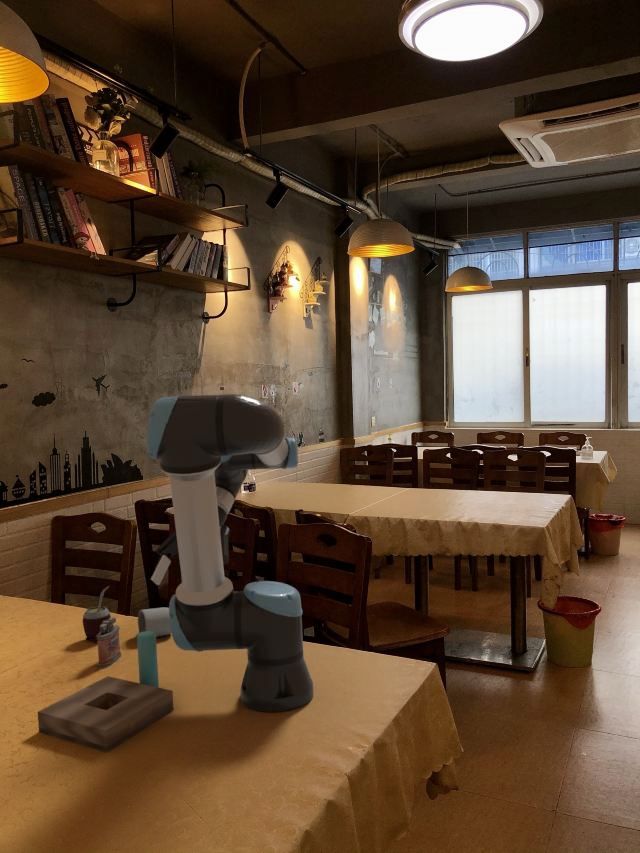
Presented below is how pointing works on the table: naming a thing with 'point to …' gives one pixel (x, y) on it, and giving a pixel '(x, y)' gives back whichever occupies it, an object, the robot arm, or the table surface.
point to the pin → (147, 658)
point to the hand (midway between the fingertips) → (177, 585)
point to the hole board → (105, 713)
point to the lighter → (108, 643)
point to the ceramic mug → (154, 621)
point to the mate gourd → (95, 619)
